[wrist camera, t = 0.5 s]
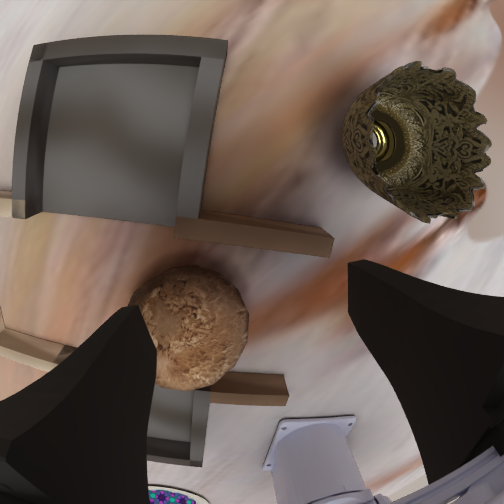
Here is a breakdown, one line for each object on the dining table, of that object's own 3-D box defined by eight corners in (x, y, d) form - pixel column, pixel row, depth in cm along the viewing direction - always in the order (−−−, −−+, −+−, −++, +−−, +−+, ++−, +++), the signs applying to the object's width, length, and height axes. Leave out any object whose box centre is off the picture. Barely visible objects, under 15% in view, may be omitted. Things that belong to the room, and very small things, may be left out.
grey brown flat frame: (258, 450, 27) (261, 469, 24) (24, 407, 23) (16, 422, 21) (347, 81, 17) (364, 73, 14) (-5, 64, 13) (-24, 60, 11)
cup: (314, 197, 19) (372, 228, 12) (310, 83, 17) (366, 46, 9) (411, 195, 20) (489, 221, 12) (409, 94, 17) (488, 80, 10)
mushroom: (245, 396, 20) (216, 419, 14) (147, 364, 22) (96, 370, 16) (269, 286, 21) (250, 268, 15) (169, 266, 23) (124, 244, 17)
